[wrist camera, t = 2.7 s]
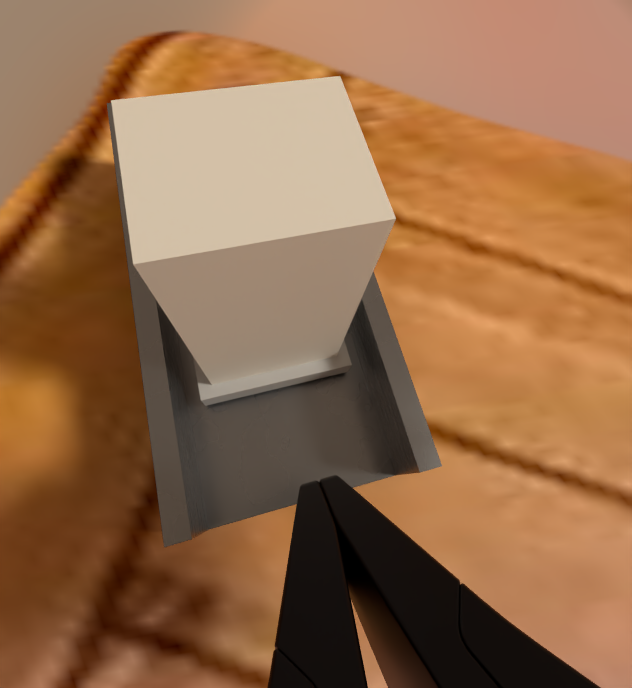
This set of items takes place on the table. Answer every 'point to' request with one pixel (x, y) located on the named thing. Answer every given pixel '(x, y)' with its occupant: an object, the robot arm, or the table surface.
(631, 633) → the table surface
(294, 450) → the rail housing
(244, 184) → the cream rectangular block
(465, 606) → the robot arm
